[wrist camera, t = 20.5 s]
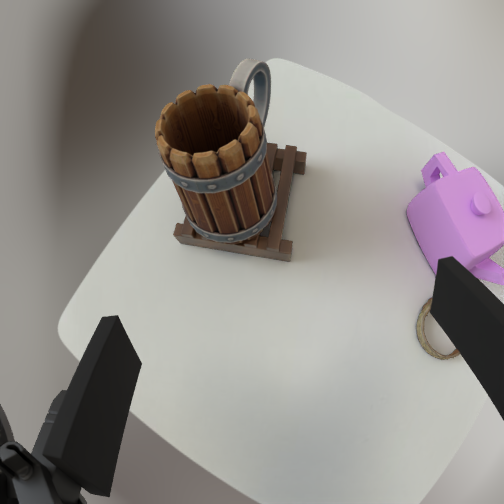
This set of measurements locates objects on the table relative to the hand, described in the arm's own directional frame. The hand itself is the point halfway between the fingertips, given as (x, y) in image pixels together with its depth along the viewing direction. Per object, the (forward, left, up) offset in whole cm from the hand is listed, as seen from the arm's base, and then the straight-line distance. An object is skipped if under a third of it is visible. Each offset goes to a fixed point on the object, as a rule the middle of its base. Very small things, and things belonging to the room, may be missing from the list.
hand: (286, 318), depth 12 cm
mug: (-8, +17, -21) cm, 28 cm away
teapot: (+20, +17, -25) cm, 36 cm away
